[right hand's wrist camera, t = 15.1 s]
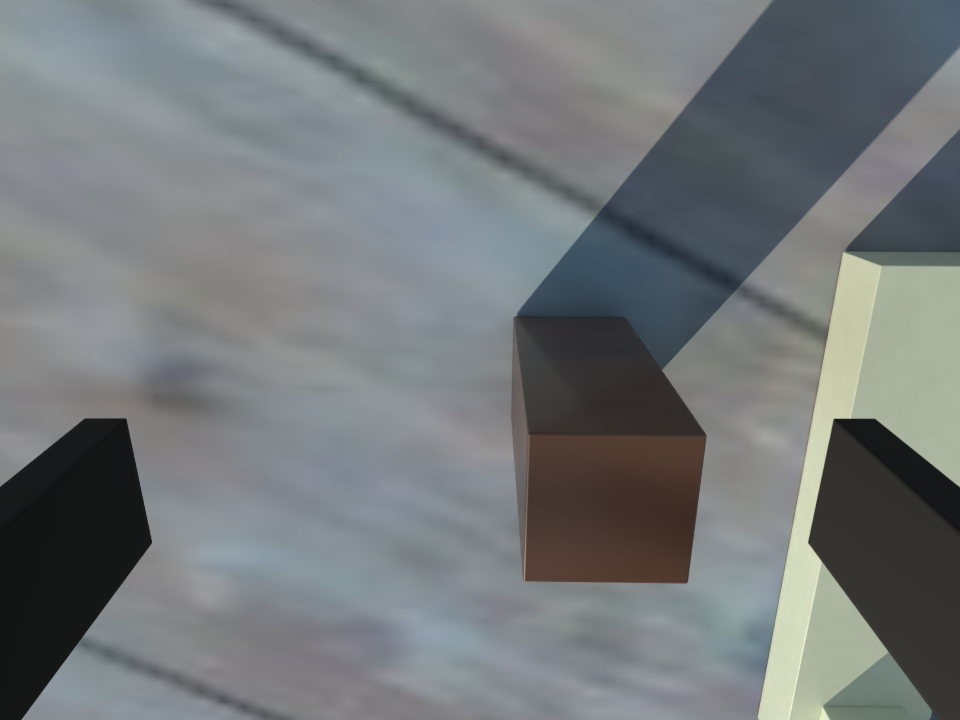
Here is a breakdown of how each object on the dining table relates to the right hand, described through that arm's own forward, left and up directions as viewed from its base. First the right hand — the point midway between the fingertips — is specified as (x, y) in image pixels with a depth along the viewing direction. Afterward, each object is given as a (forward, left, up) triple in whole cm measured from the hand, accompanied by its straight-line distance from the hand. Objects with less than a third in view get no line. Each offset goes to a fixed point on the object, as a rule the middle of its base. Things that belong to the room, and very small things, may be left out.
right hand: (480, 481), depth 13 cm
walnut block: (+4, +4, -18) cm, 19 cm away
